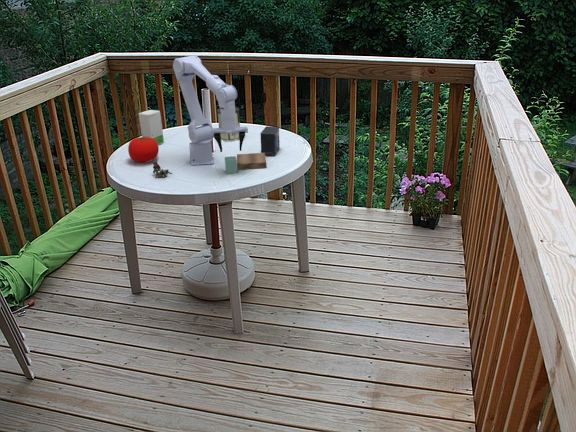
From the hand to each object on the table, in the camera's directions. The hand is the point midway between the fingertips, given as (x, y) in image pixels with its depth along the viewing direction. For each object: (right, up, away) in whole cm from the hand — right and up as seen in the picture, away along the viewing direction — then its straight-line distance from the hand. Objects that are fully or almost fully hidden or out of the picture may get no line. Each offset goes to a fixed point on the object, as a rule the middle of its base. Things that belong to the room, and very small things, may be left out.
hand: (230, 150), depth 229 cm
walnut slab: (+8, -4, +12) cm, 15 cm away
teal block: (0, -8, +4) cm, 9 cm away
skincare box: (-40, +7, +39) cm, 57 cm away
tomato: (-39, -2, +20) cm, 44 cm away
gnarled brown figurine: (-28, -10, +3) cm, 30 cm away
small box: (+15, +2, +24) cm, 29 cm away
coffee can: (-5, +11, +44) cm, 46 cm away
